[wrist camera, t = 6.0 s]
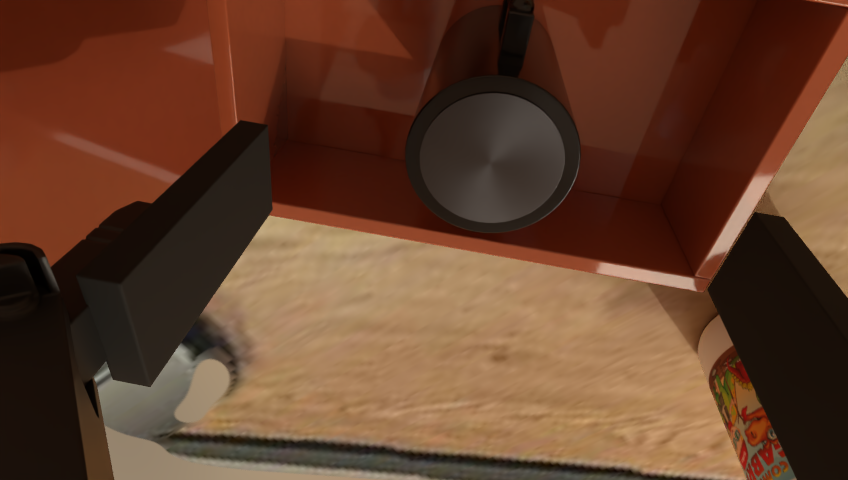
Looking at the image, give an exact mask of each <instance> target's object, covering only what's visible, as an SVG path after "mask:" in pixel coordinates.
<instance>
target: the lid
mask: <svg viewBox="0 0 848 480" xmlns="http://www.w3.org/2000/svg"><path fill="white" fill-rule="evenodd" d="M221 138H222V133H221V124H220V115H219V106H218V97H217V88H216V79H215V70H214V62H213V53H212V44H211V35H210V26H209V17H208V8H207V0H0V244H1V243H11V242H20V243H29V244H33V245H35V246H37V247H39V248H41V249H42V250H43V252H44V253H45V255H46V257H47V259H48V262H49V264H50V267H51V266H52V265H54V264H55V263H56V262H57V261H58V260H59V259H60V258H62V257H63V256H64V255H65V254H66V253H67V252H68V251H70V250H71V249H72V248H73V247H74V246H75V245H76V244H78V243H79V242H80V241H81V240H82V239H84V240H85V239H86V236H87V235H88V234H89V233H90V232H91V231H92V230H94V229H95V228H98V227H99V224H101V223H102V222H103V221H104V220H105V219H106V218H107V217H109V216H110V215H111V214H112V213H113V212H114V211H116V210H118V209H120V208H122V207H125V206H127V205H129V204H131V203H133V202H135V201H142V202H147V203H153V202H154V201H155V200H156V199H157V198H158V197H159V196H160V195H161V194H163V193H164V192H165V191H166V190H167V189H168V188H169V187H170V186H171V185H172V184H173V183H174V182H175V181H176V180H177V179H178V178H180V177H181V176H182V175H183V174H184V173H185V172H186V171H187V170H188V169H189V168H190V167H191V166H192V165H193V164H194V163H195V162H196V161H198V160H199V159H200V158H201V157H202V156H203V155H204V154H205V153H206V152H207V151H208V150H209V149H210V148H211V147H212V146H213V145H215V144H216V143H217V142H218V141H219V140H220V139H221Z"/></svg>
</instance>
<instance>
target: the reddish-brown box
mask: <svg viewBox="0 0 848 480" xmlns="http://www.w3.org/2000/svg"><path fill="white" fill-rule="evenodd" d="M502 2H503V0H207V8H208V17H209V26H210V35H211V44H212V53H213V62H214V70H215V79H216V88H217V97H218V106H219V115H220V124H221V133H222V137H223V136H224V135H225V134H226V133H227V132H228V131H229V130H230V129H232V128H233V127H234V126H235V125H236V124H237V123H238V122H239V121H240V120H243V121H249V122H254V123H260V124H266V125H268V133H269V151H270V170H271V188H272V207H273V210H272V211H271V213H270V214H269V215H271V216H276V217H282V218H287V219H293V220H299V221H304V222H310V223H315V224H321V225H327V226H332V227H338V228H343V229H349V230H355V231H360V232H366V233H371V234H377V235H383V236H388V237H394V238H399V239H405V240H411V241H416V242H422V243H428V244H433V245H439V246H444V247H450V248H456V249H461V250H467V251H472V252H478V253H484V254H489V255H495V256H500V257H506V258H512V259H517V260H523V261H528V262H534V263H540V264H545V265H551V266H556V267H562V268H568V269H573V270H579V271H585V272H590V273H596V274H601V275H607V276H613V277H618V278H624V279H629V280H635V281H641V282H646V283H652V284H657V285H663V286H669V287H674V288H680V289H685V290H691V291H697V292H704V291H705V289H706V288H707V286H708V284H709V283H710V279H712V278H713V276H714V275H715V273H716V271H717V270H718V268H719V266H720V265H721V263H722V262H723V260H724V258H725V257H726V255H727V253H728V252H729V250H730V248H731V247H732V245H733V243H734V242H735V240H736V239H737V237H738V235H739V234H740V232H741V230H742V229H743V227H744V225H745V224H746V222H747V220H748V219H749V217H750V216H751V214H752V212H753V211H754V209H755V207H756V206H757V204H758V202H759V201H760V199H761V197H762V196H763V194H764V193H765V191H766V189H767V188H768V186H769V184H770V183H771V181H772V179H773V178H774V176H775V174H776V173H777V171H778V170H779V168H780V166H781V165H782V163H783V161H784V160H785V158H786V156H787V155H788V153H789V151H790V150H791V148H792V147H793V145H794V143H795V142H796V140H797V138H798V137H799V135H800V133H801V132H802V130H803V128H804V127H805V125H806V123H807V122H808V120H809V119H810V117H811V115H812V114H813V112H814V110H815V109H816V107H817V105H818V104H819V102H820V100H821V99H822V97H823V96H824V94H825V92H826V91H827V89H828V87H829V86H830V84H831V82H832V81H833V79H834V77H835V76H836V74H837V73H838V71H839V69H840V68H841V66H842V64H843V63H844V61H845V59H846V58H847V56H848V0H534V3H535V10H534V15H535V19H536V20H538V21H539V22H540V24H541V25H542V26H543V27H544V28H545V30H546V31H547V33H548V34H549V36H550V38H551V40H552V43H553V46H554V49H555V53H556V56H557V60H558V63H559V67H560V70H561V74H562V77H563V81H564V84H565V88H566V91H567V95H568V98H569V102H570V105H571V109H572V112H573V116H574V119H575V123H576V126H577V130H578V133H579V138H580V144H581V160H580V167H579V171H578V175H577V178H576V180H575V182H574V185H573V187H572V188H571V190H570V192H569V193H568V195H567V196H566V197H565V199H564V200H563V201H562V202H561V204H560V205H559V206H558V207H557V208H556V209H555V210H554V211H552V212H551V213H550V214H548V215H547V216H546V217H544V218H543V219H541V220H539V221H538V222H536V223H534V224H531V225H529V226H527V227H524V228H521V229H518V230H514V231H509V232H501V233H482V232H474V231H470V230H466V229H462V228H460V227H457V226H454V225H452V224H450V223H448V222H446V221H444V220H443V219H441V218H440V217H438V216H437V215H436V214H434V213H433V212H432V211H431V210H429V208H428V207H427V206H426V205H425V204H424V203H423V202H422V201H421V199H420V198H419V197H418V195H417V194H416V192H415V190H414V189H413V187H412V185H411V182H410V180H409V177H408V173H407V169H406V163H405V146H406V141H407V136H408V133H409V130H410V127H411V124H412V122H413V119H414V116H415V113H416V110H417V107H418V104H419V102H420V99H421V96H422V93H423V90H424V87H425V85H426V82H427V79H428V76H429V73H430V70H431V68H432V65H433V62H434V59H435V56H436V53H437V51H438V48H439V45H440V43H441V41H442V39H443V37H444V35H445V34H446V32H447V31H448V29H449V28H450V27H451V26H452V25H453V24H454V23H455V22H456V21H457V20H458V19H460V18H461V17H462V16H464V15H465V14H467V13H469V12H471V11H473V10H475V9H478V8H481V7H486V6H492V5H502Z"/></svg>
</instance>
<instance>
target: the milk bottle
mask: <svg viewBox="0 0 848 480" xmlns="http://www.w3.org/2000/svg"><path fill="white" fill-rule="evenodd" d="M698 357H699V360H700V363H701V366H702V369H703V372H704V374H705V377H706V379H707V382H708V384H709V387H710V390H711V392H712V395H713V397H714V400H715V402H716V405H717V407H718V410H719V412H720V415H721V417H722V419H723V422H724V424H725V427H726V429H727V432H728V434H729V437H730V439H731V442H732V444H733V447H734V449H735V452H736V454H737V457H738V459H739V461H740V464H741V466H742V469H743V471H744V473H745V476H746V478H747V480H797V479H796V477H795V475H794V473H793V471H792V469H791V466H790V464H789V462H788V460H787V458H786V456H785V454H784V452H783V449H782V447H781V445H780V443H779V441H778V439H777V437H776V435H775V432H774V430H773V428H772V426H771V424H770V422H769V420H768V418H767V415H766V413H765V411H764V409H763V407H762V405H761V403H760V401H759V398H758V396H757V394H756V392H755V390H754V388H753V386H752V384H751V381H750V379H749V377H748V375H747V373H746V371H745V369H744V367H743V364H742V362H741V360H740V358H739V356H738V354H737V352H736V350H735V347H734V345H733V343H732V341H731V339H730V337H729V335H728V332H727V330H726V328H725V326H724V324H723V322H722V320H721V318H720V315H718V316H717V317H715V318H714V319H713V320H712V321H711V322H710V323H709V324H708V325H707V327H706V328H705V329H704V331H703V333H702V335H701V337H700V341H699V345H698Z"/></svg>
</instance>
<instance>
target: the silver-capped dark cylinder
mask: <svg viewBox="0 0 848 480" xmlns="http://www.w3.org/2000/svg"><path fill="white" fill-rule="evenodd" d="M534 10H535V3H534V0H503V2H502V5H492V6H486V7H481V8H478V9H475V10H473V11H471V12H469V13H467V14H465V15H464V16H462V17H461V18H460V19H458V20H457V21H456V22H455V23H454V24H453V25H452V26H451V27H450V28H449V29H448V31H447V32H446V34H445V35H444V37H443V39H442V41H441V43H440V45H439V48H438V51H437V53H436V56H435V59H434V62H433V65H432V68H431V70H430V73H429V76H428V79H427V82H426V85H425V87H424V90H423V93H422V96H421V99H420V102H419V104H418V107H417V110H416V113H415V116H414V119H413V122H412V124H411V127H410V130H409V133H408V136H407V141H406V146H405V163H406V169H407V173H408V177H409V180H410V182H411V185H412V187H413V189H414V190H415V192H416V194H417V195H418V197H419V198H420V199H421V201H422V202H423V203H424V204H425V205H426V206H427V207H428V208H429V210H431V211H432V212H433V213H434V214H436V215H437V216H438V217H440V218H441V219H443V220H444V221H446V222H448V223H450V224H452V225H454V226H457V227H460V228H462V229H466V230H470V231H474V232H482V233H501V232H509V231H514V230H518V229H521V228H524V227H527V226H529V225H531V224H534V223H536V222H538V221H539V220H541V219H543V218H544V217H546V216H547V215H548V214H550V213H551V212H552V211H554V210H555V209H556V208H557V207H558V206H559V205H560V204H561V202H562V201H563V200H564V199H565V197H566V196H567V195H568V193H569V192H570V190H571V188H572V187H573V185H574V182H575V180H576V178H577V175H578V171H579V167H580V160H581V144H580V138H579V133H578V130H577V126H576V123H575V119H574V116H573V112H572V109H571V105H570V102H569V98H568V95H567V91H566V88H565V84H564V81H563V77H562V74H561V70H560V67H559V63H558V60H557V56H556V53H555V49H554V46H553V43H552V40H551V38H550V36H549V34H548V33H547V31H546V30H545V28H544V27H543V26H542V25H541V24H540V22H539V21H538V20H536V19H535V15H534Z"/></svg>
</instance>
